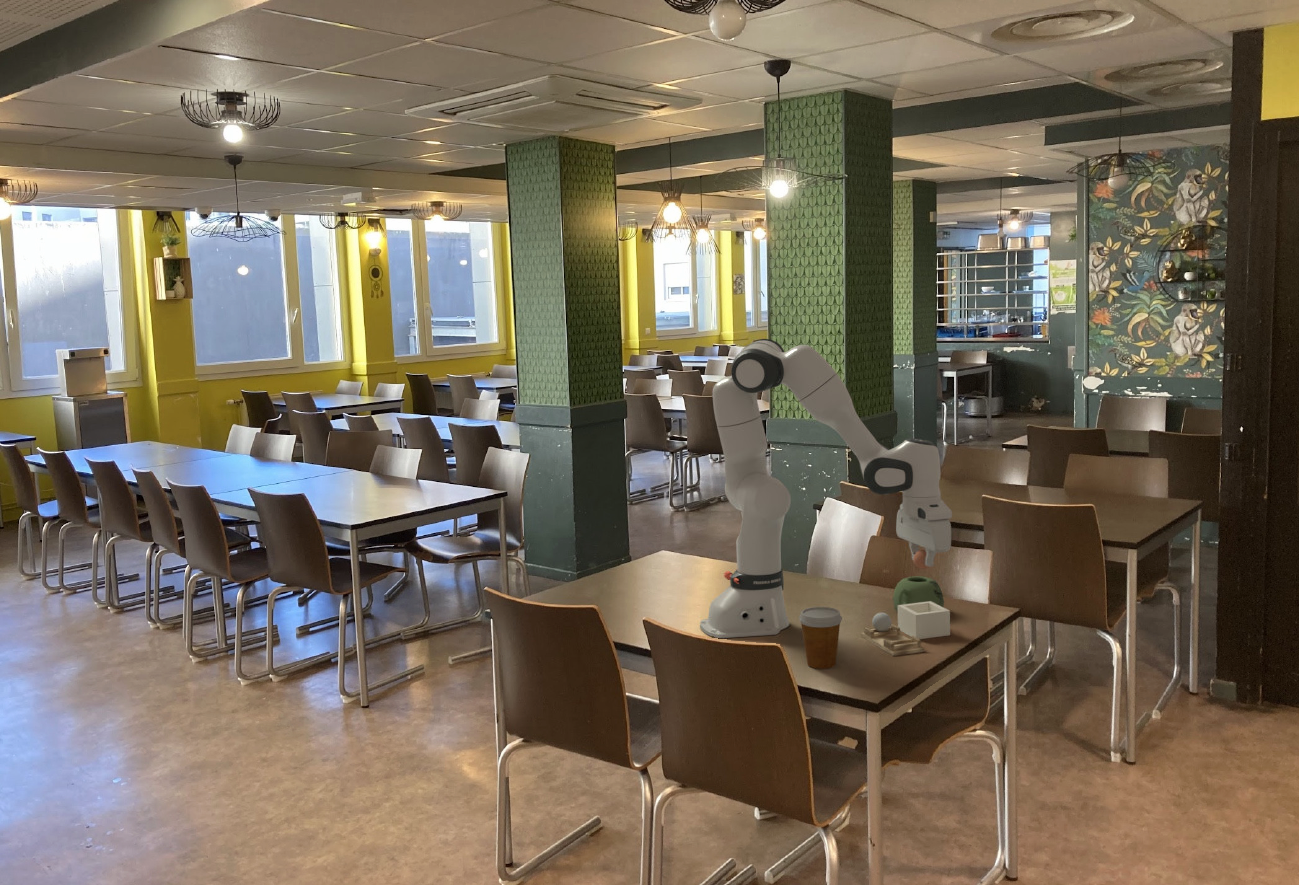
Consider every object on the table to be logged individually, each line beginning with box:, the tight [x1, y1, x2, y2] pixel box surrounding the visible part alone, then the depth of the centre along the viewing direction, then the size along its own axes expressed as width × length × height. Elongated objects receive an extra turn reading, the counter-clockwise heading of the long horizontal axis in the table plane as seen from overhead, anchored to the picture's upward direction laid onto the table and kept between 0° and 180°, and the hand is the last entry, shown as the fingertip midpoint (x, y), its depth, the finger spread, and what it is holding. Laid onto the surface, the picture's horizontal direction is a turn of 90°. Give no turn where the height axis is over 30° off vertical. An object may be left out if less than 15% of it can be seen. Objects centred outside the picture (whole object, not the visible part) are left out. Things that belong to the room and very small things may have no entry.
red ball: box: [912, 549, 931, 570], centre depth 254 cm, size 4×4×4 cm
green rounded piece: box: [892, 575, 945, 612], centre depth 272 cm, size 16×13×9 cm
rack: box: [860, 623, 926, 657], centre depth 249 cm, size 8×16×2 cm, turn 15°
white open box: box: [897, 601, 951, 640], centre depth 257 cm, size 9×9×6 cm
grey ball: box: [871, 612, 893, 632], centre depth 254 cm, size 4×4×4 cm
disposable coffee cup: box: [798, 606, 843, 670], centre depth 237 cm, size 10×10×12 cm
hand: (922, 563), depth 255 cm, fingers closed on red ball, 4 cm apart
